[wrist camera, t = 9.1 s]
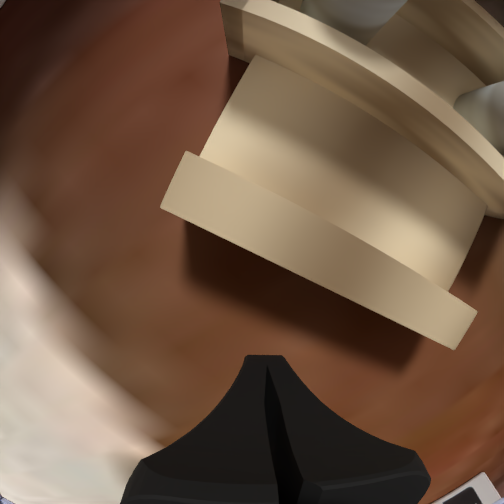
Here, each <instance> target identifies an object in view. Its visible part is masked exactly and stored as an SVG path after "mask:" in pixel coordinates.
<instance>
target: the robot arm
mask: <svg viewBox="0 0 504 504" xmlns="http://www.w3.org/2000/svg"><path fill="white" fill-rule="evenodd" d="M430 481H431V477H430V476H429V474H428V472H427V470H426V468H425V466H424V464H423V462H422V460H421V459H420V458H419V456H418V455H417V453H416V452H415V451H413V450H410V449H407V448H404V447H401V446H398V445H395V444H392V443H389V442H386V441H384V440H381V439H379V438H377V437H375V436H372V435H370V434H368V433H366V432H364V431H363V430H361V429H359V428H357V427H355V426H354V425H352V424H351V423H349V422H347V421H346V420H344V419H343V418H341V417H340V416H338V415H337V414H336V413H334V412H333V411H332V410H331V409H329V408H328V407H327V406H326V405H324V404H323V403H322V402H321V401H320V400H319V399H318V398H317V397H316V396H315V395H314V394H313V393H312V392H311V391H310V390H309V389H308V388H307V386H306V385H305V384H304V383H303V382H302V381H301V380H300V378H299V377H298V376H297V375H296V373H295V372H294V371H293V369H292V368H291V367H290V365H289V364H288V362H287V361H286V359H285V358H284V357H283V356H282V355H247V356H246V357H245V358H244V363H243V365H242V368H241V370H240V372H239V374H238V376H237V378H236V379H235V381H234V383H233V384H232V386H231V388H230V389H229V390H228V392H227V393H226V395H225V396H224V397H223V399H222V400H221V401H220V403H219V404H218V405H217V406H216V407H215V408H214V409H213V411H212V412H211V413H210V414H209V415H208V416H207V417H206V418H205V419H204V420H202V421H201V422H200V423H199V424H198V425H197V426H196V427H195V428H193V429H192V430H191V431H190V432H188V433H187V434H186V435H184V436H183V437H181V438H180V439H178V440H177V441H175V442H174V443H172V444H171V445H169V446H168V447H166V448H164V449H162V450H160V451H158V452H156V453H154V454H152V455H150V456H148V457H146V458H144V459H142V460H140V462H139V463H138V465H137V466H136V468H135V470H134V471H133V473H132V475H131V477H130V478H129V480H128V482H127V485H126V487H125V491H124V494H123V497H122V500H121V503H120V504H417V503H418V502H419V501H420V500H421V498H422V497H423V496H424V494H425V493H426V491H427V489H428V487H429V486H430ZM0 504H14V503H13V502H11V501H9V500H7V499H6V498H4V497H2V496H1V494H0ZM492 504H504V497H503V498H501V499H499V500H498V501H496V502H494V503H492Z"/></svg>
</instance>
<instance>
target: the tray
mask: <svg viewBox="0 0 504 504" xmlns="http://www.w3.org/2000/svg"><path fill="white" fill-rule="evenodd" d="M220 7H221V13H222V19H223V24H224V30H225V36H226V42H227V48H228V54H229V55H230V56H233V57H236V58H238V59H241V60H243V61H245V62H248V63H250V64H249V66H248V68H247V69H246V71H245V73H244V75H243V76H242V78H241V80H240V82H239V83H238V85H237V87H236V89H235V90H234V92H233V94H232V96H231V98H230V99H229V101H228V103H227V105H226V107H225V108H224V110H223V112H222V114H221V116H220V118H219V120H218V122H217V123H216V125H215V127H214V129H213V131H212V133H211V135H210V137H209V139H208V141H207V143H206V145H205V147H204V149H203V151H202V153H201V155H200V157H199V156H197V155H194V154H192V153H190V152H188V151H186V152H185V154H184V156H183V158H182V160H181V162H180V164H179V166H178V168H177V170H176V173H175V175H174V177H173V179H172V181H171V183H170V186H169V188H168V190H167V192H166V194H165V197H164V199H163V201H162V203H161V206H160V208H162V209H164V210H166V211H168V212H170V213H172V214H174V215H176V216H179V217H181V218H183V219H185V220H187V221H189V222H191V223H193V224H195V225H197V226H199V227H201V228H203V229H205V230H207V231H209V232H211V233H214V234H216V235H218V236H220V237H222V238H224V239H226V240H228V241H230V242H232V243H234V244H236V245H238V246H240V247H242V248H244V249H247V250H249V251H251V252H253V253H255V254H257V255H259V256H261V257H263V258H265V259H267V260H269V261H271V262H273V263H275V264H277V265H280V266H282V267H284V268H286V269H288V270H290V271H292V272H294V273H296V274H298V275H300V276H302V277H304V278H306V279H308V280H310V281H313V282H315V283H317V284H319V285H321V286H323V287H325V288H327V289H329V290H331V291H333V292H335V293H337V294H339V295H341V296H343V297H346V298H348V299H350V300H352V301H354V302H356V303H358V304H360V305H362V306H364V307H366V308H368V309H370V310H372V311H374V312H376V313H379V314H381V315H383V316H385V317H387V318H389V319H391V320H393V321H395V322H397V323H399V324H401V325H403V326H405V327H407V328H409V329H412V330H414V331H416V332H418V333H420V334H422V335H424V336H426V337H428V338H430V339H432V340H434V341H436V342H438V343H440V344H442V345H445V346H447V347H449V348H451V349H453V350H455V349H456V347H457V345H458V344H459V342H460V341H461V339H462V338H463V336H464V334H465V333H466V331H467V329H468V328H469V326H470V324H471V323H472V321H473V319H474V317H475V316H476V314H477V311H476V310H474V309H473V308H472V307H470V306H469V305H467V304H465V303H464V302H462V301H461V300H459V299H458V298H456V297H455V296H453V295H452V294H450V293H449V292H448V291H449V289H450V287H451V285H452V283H453V281H454V279H455V277H456V275H457V274H458V272H459V270H460V268H461V266H462V264H463V262H464V259H465V257H466V255H467V253H468V251H469V249H470V247H471V245H472V242H473V240H474V238H475V236H476V233H477V231H478V229H479V226H480V224H481V222H482V219H483V217H484V214H485V215H486V216H490V217H494V218H499V219H503V220H504V28H503V27H502V26H501V25H500V24H499V23H498V22H497V21H496V20H495V19H494V18H493V17H492V16H491V15H490V14H489V13H488V12H487V11H486V10H485V9H484V8H482V7H481V6H480V5H479V4H478V3H477V2H476V1H474V0H221V1H220Z"/></svg>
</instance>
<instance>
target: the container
mask: <svg viewBox="0 0 504 504" xmlns="http://www.w3.org/2000/svg"><path fill="white" fill-rule="evenodd" d="M499 499H501V497H500V495H499V493H498V492H497V490H496V489H495V487H494V486H493V484H492V483H491V481H490V480H489V478H488V477H487V475H486V474H485V473H484V472H481V473H479V474H478V475H476V476H475V477H473V478H472V479H470V480H469V481H467V482H466V483H464V484H463V485H461V486H460V487H458V488H457V489H455V490H453V491H452V492H450V493H448V494H447V495H445V496H443V497H441V498H440V499H438V500H436V501H434V502H433V503H431V504H492V503H494V502H496V501H498V500H499Z"/></svg>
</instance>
